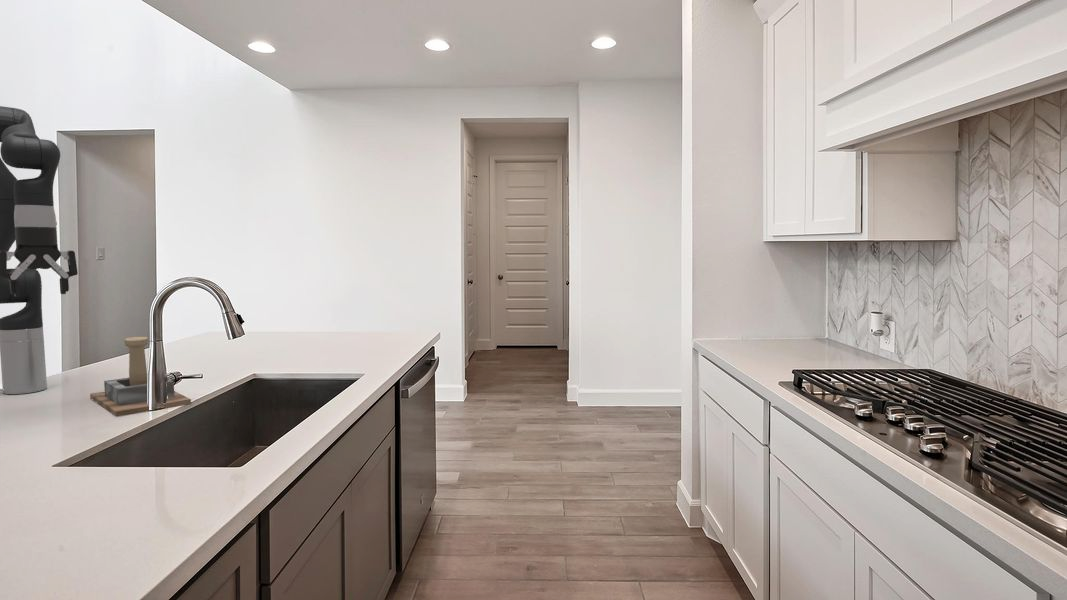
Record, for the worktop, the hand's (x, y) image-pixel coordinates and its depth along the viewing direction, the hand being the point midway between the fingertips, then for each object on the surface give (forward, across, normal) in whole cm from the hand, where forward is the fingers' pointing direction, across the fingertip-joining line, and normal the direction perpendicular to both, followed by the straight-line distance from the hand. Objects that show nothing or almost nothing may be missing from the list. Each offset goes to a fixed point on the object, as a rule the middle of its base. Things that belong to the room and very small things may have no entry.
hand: (40, 295), depth 142 cm
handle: (+27, -18, +4) cm, 33 cm away
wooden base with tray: (+28, -18, +4) cm, 34 cm away
